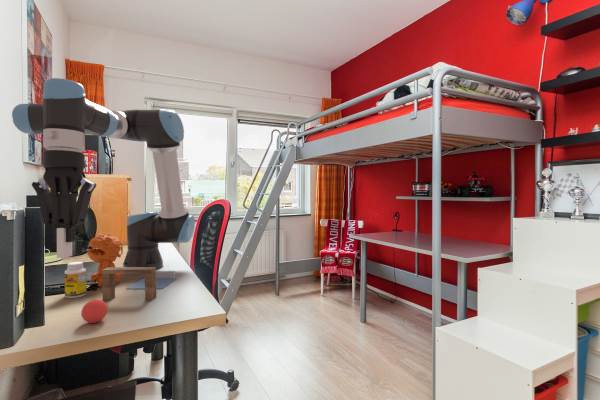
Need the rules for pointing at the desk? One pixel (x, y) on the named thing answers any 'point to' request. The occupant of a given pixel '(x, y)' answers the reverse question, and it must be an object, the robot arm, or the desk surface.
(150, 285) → the bridge
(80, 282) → the supplement bottle
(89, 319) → the ball
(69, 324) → the desk surface
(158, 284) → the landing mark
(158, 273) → the stopper wall
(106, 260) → the toy dinosaur
